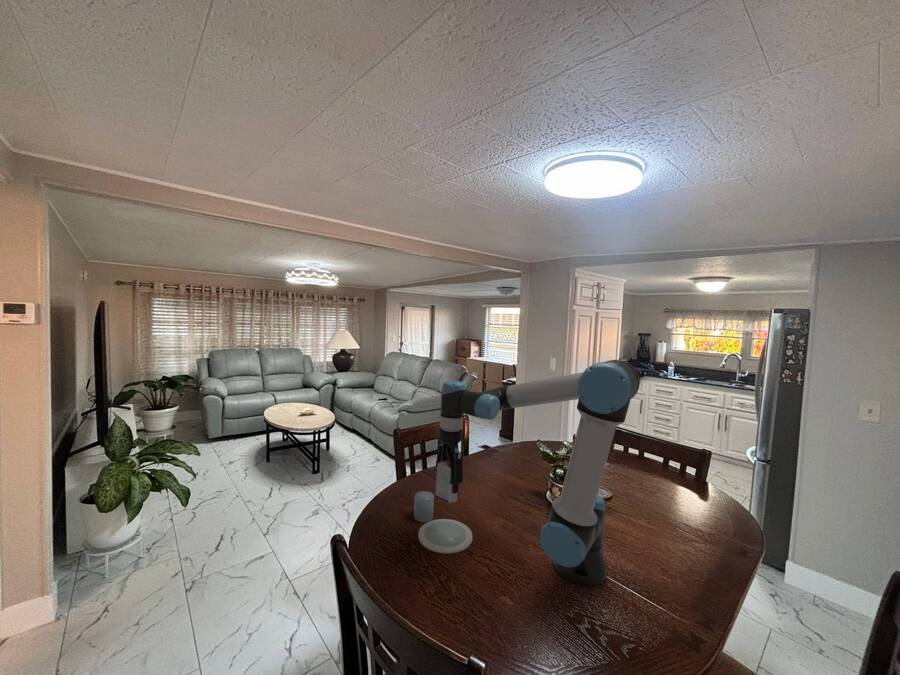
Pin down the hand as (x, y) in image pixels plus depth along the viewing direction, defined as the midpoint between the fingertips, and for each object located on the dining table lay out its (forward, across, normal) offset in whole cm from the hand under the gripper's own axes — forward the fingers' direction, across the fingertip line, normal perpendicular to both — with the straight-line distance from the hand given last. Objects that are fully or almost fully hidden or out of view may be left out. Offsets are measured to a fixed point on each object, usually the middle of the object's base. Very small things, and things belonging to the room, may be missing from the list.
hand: (447, 495), depth 124 cm
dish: (+14, 0, 0) cm, 14 cm away
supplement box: (+1, 0, 0) cm, 1 cm away
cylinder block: (+14, +14, +2) cm, 20 cm away
